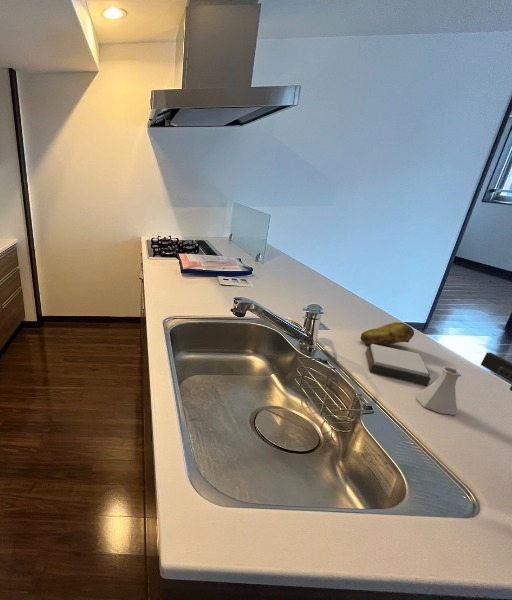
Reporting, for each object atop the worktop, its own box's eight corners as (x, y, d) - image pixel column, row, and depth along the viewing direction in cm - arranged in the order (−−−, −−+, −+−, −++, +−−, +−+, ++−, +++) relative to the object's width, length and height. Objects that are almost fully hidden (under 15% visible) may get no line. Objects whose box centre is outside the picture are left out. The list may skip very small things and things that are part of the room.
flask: (451, 400, 78) (468, 366, 74) (461, 419, 72) (481, 384, 68) (412, 391, 81) (427, 358, 77) (419, 408, 75) (435, 374, 72)
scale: (419, 364, 92) (423, 353, 91) (430, 387, 83) (435, 376, 81) (365, 352, 98) (368, 342, 97) (369, 372, 89) (373, 361, 87)
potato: (355, 334, 108) (362, 313, 105) (404, 343, 102) (413, 321, 99) (359, 346, 101) (367, 323, 98) (412, 356, 96) (421, 333, 93)
